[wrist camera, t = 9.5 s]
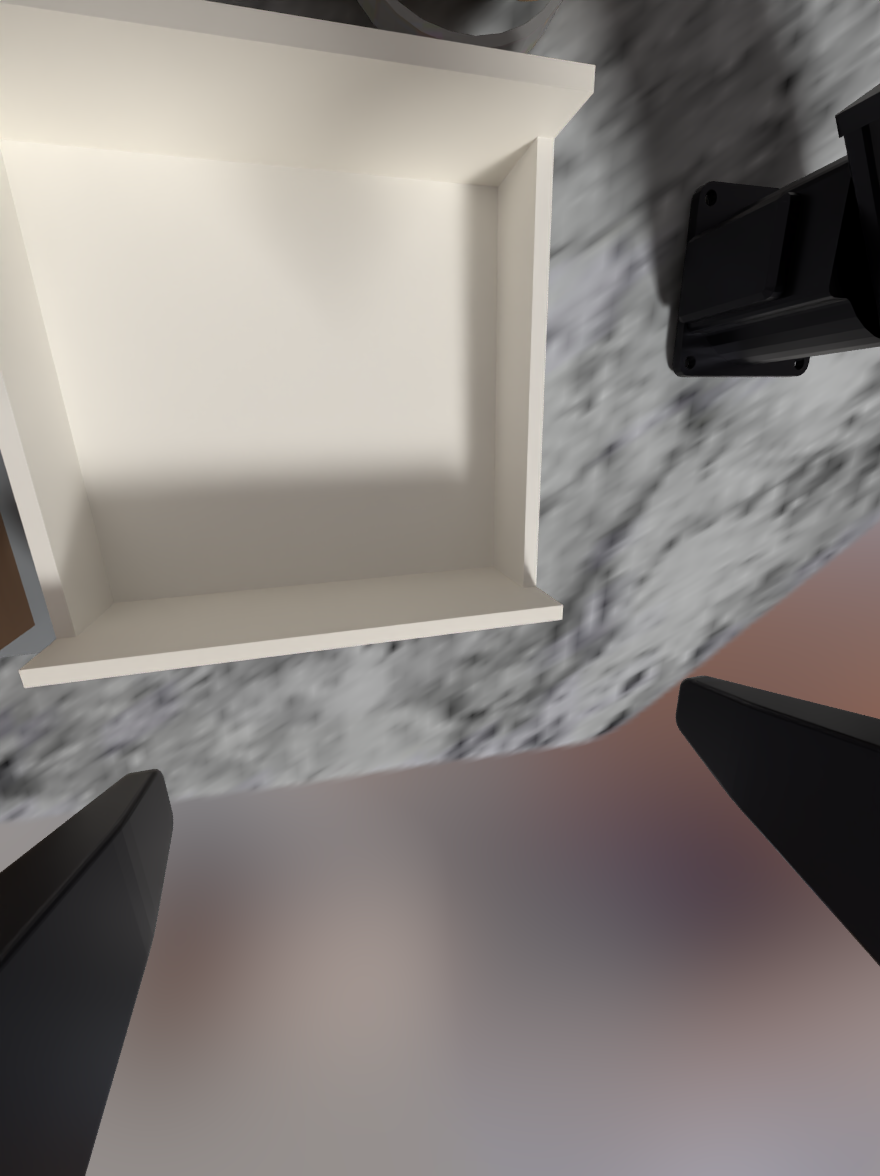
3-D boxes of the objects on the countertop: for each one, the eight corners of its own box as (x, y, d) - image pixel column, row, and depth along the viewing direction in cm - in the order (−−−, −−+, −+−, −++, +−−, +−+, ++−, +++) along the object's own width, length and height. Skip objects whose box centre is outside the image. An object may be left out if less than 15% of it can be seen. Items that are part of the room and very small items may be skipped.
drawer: (506, 177, 16) (595, 65, 11) (500, 573, 21) (562, 619, 16) (-19, 124, 13) (-227, -72, 8) (106, 612, 17) (24, 687, 12)
